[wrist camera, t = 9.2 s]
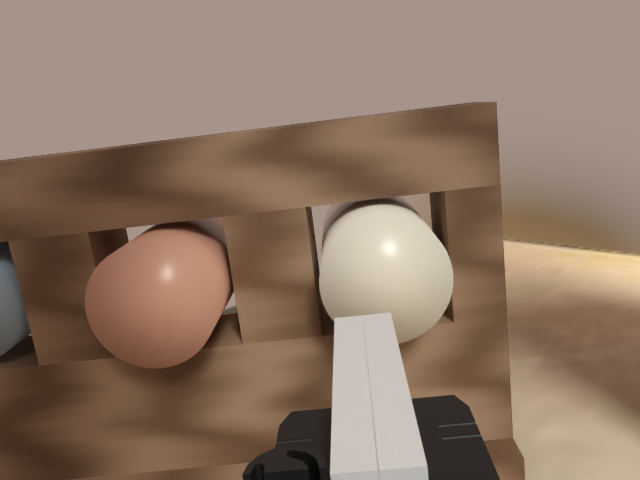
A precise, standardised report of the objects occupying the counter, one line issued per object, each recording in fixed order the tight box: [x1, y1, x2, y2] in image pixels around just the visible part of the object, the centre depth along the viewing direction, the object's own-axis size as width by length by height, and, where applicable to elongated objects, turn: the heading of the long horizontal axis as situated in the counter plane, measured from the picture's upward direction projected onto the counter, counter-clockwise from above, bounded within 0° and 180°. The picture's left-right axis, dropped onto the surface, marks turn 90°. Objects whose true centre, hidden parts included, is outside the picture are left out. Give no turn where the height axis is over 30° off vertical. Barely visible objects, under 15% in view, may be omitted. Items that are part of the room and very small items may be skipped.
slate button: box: [0, 241, 31, 356], centre depth 29 cm, size 5×9×5 cm, turn 179°
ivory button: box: [319, 196, 453, 344], centre depth 26 cm, size 5×9×5 cm, turn 179°
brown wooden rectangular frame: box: [0, 102, 525, 480], centre depth 26 cm, size 28×7×16 cm, turn 89°
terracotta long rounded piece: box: [85, 217, 234, 368], centre depth 26 cm, size 5×9×5 cm, turn 179°
